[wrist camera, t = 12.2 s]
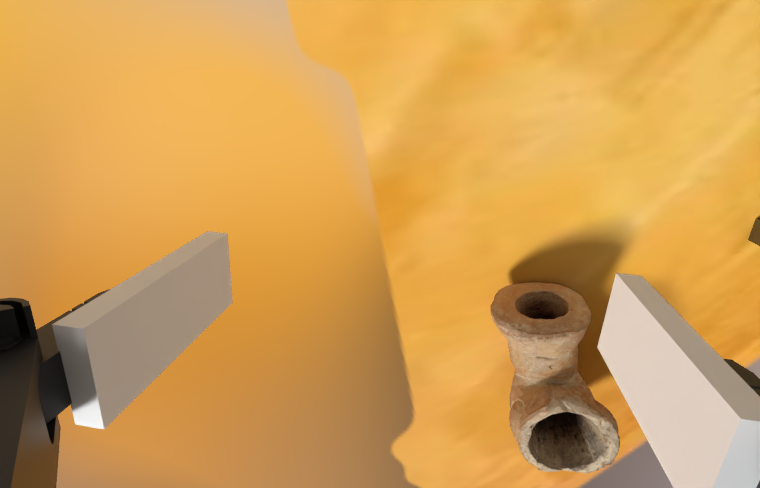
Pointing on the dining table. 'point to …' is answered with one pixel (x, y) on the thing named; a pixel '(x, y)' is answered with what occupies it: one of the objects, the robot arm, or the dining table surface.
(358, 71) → the dining table surface
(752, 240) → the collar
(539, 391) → the pipe
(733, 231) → the dining table surface
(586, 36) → the dining table surface
